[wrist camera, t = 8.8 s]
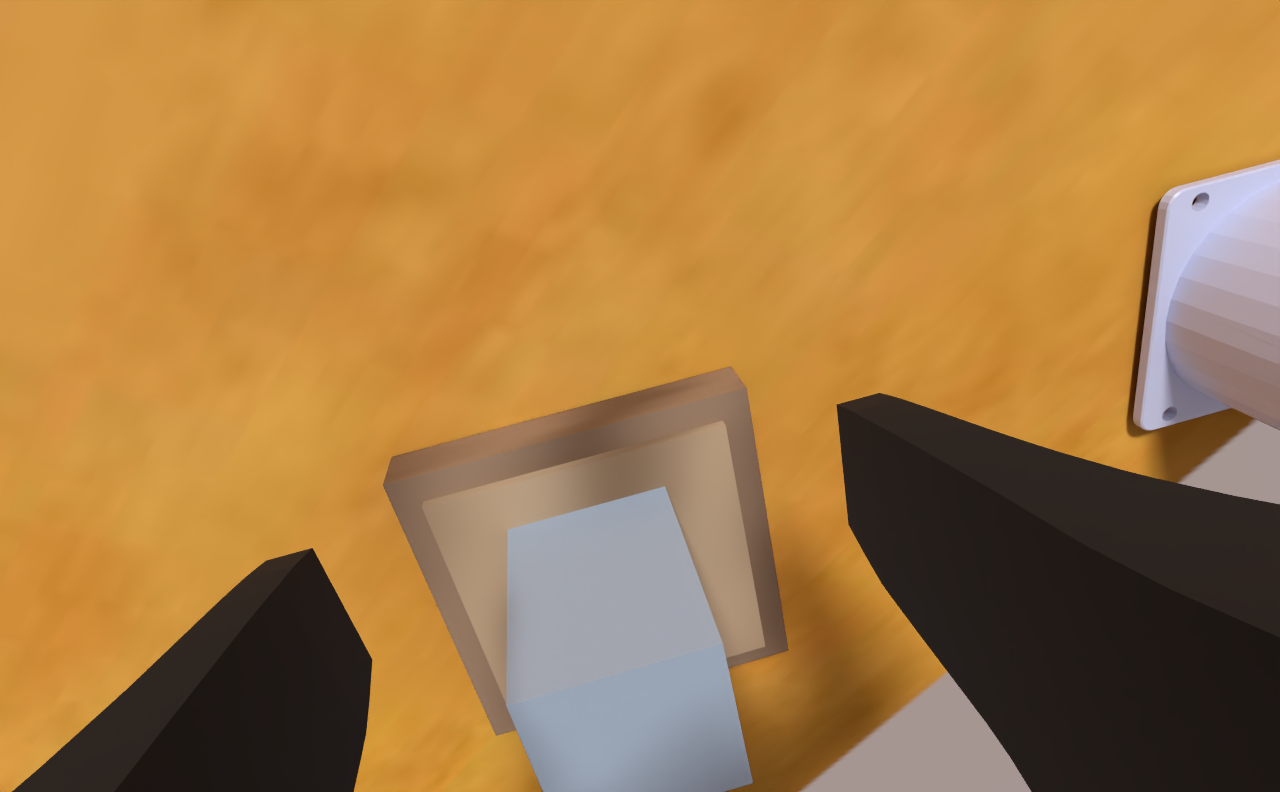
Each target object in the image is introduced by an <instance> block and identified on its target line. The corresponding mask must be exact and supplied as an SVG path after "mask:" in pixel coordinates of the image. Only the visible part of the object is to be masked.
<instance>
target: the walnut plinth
mask: <svg viewBox="0 0 1280 792" xmlns="http://www.w3.org/2000/svg"><path fill="white" fill-rule="evenodd" d="M383 486H384V489H385V491H386V493H387V495H388V498H389V500H390V502H391V504H392V506H393V509H394V511H395V513H396V515H397V517H398V520H399V522H400V524H401V526H402V528H403V531H404V533H405V535H406V537H407V540H408V542H409V544H410V546H411V548H412V551H413V553H414V555H415V557H416V559H417V562H418V564H419V566H420V568H421V571H422V573H423V575H424V577H425V579H426V582H427V584H428V586H429V588H430V590H431V593H432V595H433V597H434V599H435V602H436V604H437V606H438V608H439V610H440V613H441V615H442V617H443V619H444V621H445V624H446V626H447V628H448V630H449V633H450V635H451V637H452V639H453V641H454V644H455V646H456V648H457V650H458V652H459V655H460V657H461V659H462V661H463V664H464V666H465V668H466V670H467V672H468V675H469V677H470V679H471V681H472V683H473V686H474V688H475V690H476V692H477V695H478V697H479V699H480V701H481V703H482V706H483V708H484V710H485V712H486V714H487V717H488V719H489V721H490V723H491V726H492V728H493V730H494V732H495V734H496V736H497V735H500V734H504V733H507V732H511V731H514V730H516V728H515V725H514V723H513V721H512V718H511V716H510V714H509V711H508V709H507V707H506V672H507V543H508V529H512V528H515V527H519V526H523V525H526V524H530V523H534V522H537V521H541V520H544V519H548V518H552V517H555V516H559V515H563V514H566V513H570V512H574V511H577V510H581V509H584V508H588V507H592V506H595V505H599V504H603V503H606V502H610V501H614V500H617V499H621V498H624V497H628V496H632V495H635V494H639V493H643V492H646V491H650V490H654V489H657V488H661V487H664V486H665V487H666V490H667V493H668V496H669V498H670V501H671V504H672V507H673V509H674V512H675V515H676V517H677V520H678V523H679V526H680V528H681V531H682V534H683V536H684V539H685V542H686V545H687V547H688V550H689V553H690V555H691V558H692V561H693V564H694V566H695V569H696V572H697V574H698V577H699V580H700V583H701V585H702V588H703V591H704V594H705V596H706V599H707V602H708V604H709V607H710V610H711V613H712V615H713V618H714V621H715V623H716V626H717V629H718V632H719V634H720V637H721V640H722V642H723V646H724V651H725V656H726V660H727V665H728V668H730V667H733V666H737V665H740V664H744V663H747V662H751V661H754V660H757V659H761V658H764V657H768V656H771V655H775V654H778V653H781V652H785V651H788V644H787V638H786V632H785V626H784V619H783V613H782V607H781V601H780V594H779V588H778V582H777V576H776V569H775V563H774V557H773V550H772V544H771V538H770V532H769V525H768V519H767V513H766V507H765V500H764V494H763V488H762V482H761V475H760V469H759V463H758V457H757V450H756V444H755V438H754V431H753V425H752V419H751V413H750V406H749V400H748V394H747V388H746V386H745V385H744V384H743V382H742V381H741V380H740V378H739V377H738V375H737V374H736V373H735V371H734V370H733V369H732V367H728V368H724V369H721V370H717V371H713V372H709V373H706V374H702V375H698V376H694V377H691V378H687V379H683V380H679V381H676V382H672V383H668V384H664V385H661V386H657V387H653V388H649V389H646V390H642V391H638V392H634V393H631V394H627V395H623V396H619V397H616V398H612V399H608V400H604V401H601V402H597V403H593V404H589V405H586V406H582V407H578V408H574V409H571V410H567V411H563V412H559V413H556V414H552V415H548V416H544V417H541V418H537V419H533V420H529V421H526V422H522V423H518V424H514V425H511V426H507V427H503V428H499V429H496V430H492V431H488V432H484V433H481V434H477V435H473V436H469V437H466V438H462V439H458V440H454V441H451V442H447V443H443V444H439V445H436V446H432V447H428V448H424V449H421V450H417V451H413V452H409V453H406V454H402V455H398V456H394V457H392V458H391V461H390V464H389V467H388V471H387V474H386V477H385V481H384V484H383Z"/></svg>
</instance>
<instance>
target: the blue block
mask: <svg viewBox="0 0 1280 792" xmlns="http://www.w3.org/2000/svg"><path fill="white" fill-rule="evenodd" d="M506 707H507V709H508V711H509V714H510V716H511V718H512V721H513V723H514V725H515V728H516V730H517V732H518V735H519V737H520V739H521V742H522V744H523V746H524V749H525V751H526V753H527V756H528V758H529V760H530V763H531V765H532V767H533V770H534V772H535V774H536V777H537V779H538V781H539V784H540V786H541V788H542V791H543V792H725V791H729V790H732V789H735V788H739V787H742V786H745V785H749V784H752V783H753V781H752V776H751V771H750V767H749V762H748V757H747V753H746V748H745V744H744V739H743V734H742V730H741V725H740V720H739V716H738V711H737V707H736V702H735V697H734V693H733V688H732V683H731V679H730V674H729V670H728V665H727V660H726V656H725V651H724V646H723V642H722V640H721V637H720V634H719V632H718V629H717V626H716V623H715V621H714V618H713V615H712V613H711V610H710V607H709V604H708V602H707V599H706V596H705V594H704V591H703V588H702V585H701V583H700V580H699V577H698V574H697V572H696V569H695V566H694V564H693V561H692V558H691V555H690V553H689V550H688V547H687V545H686V542H685V539H684V536H683V534H682V531H681V528H680V526H679V523H678V520H677V517H676V515H675V512H674V509H673V507H672V504H671V501H670V498H669V496H668V493H667V490H666V487H665V486H664V487H661V488H657V489H654V490H650V491H646V492H643V493H639V494H635V495H632V496H628V497H624V498H621V499H617V500H614V501H610V502H606V503H603V504H599V505H595V506H592V507H588V508H584V509H581V510H577V511H574V512H570V513H566V514H563V515H559V516H555V517H552V518H548V519H544V520H541V521H537V522H534V523H530V524H526V525H523V526H519V527H515V528H512V529H508V543H507V672H506Z"/></svg>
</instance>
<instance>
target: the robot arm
mask: <svg viewBox="0 0 1280 792" xmlns="http://www.w3.org/2000/svg"><path fill="white" fill-rule="evenodd" d="M1196 196H1197V199H1196V202H1195V203H1194V204H1193V206H1192V203H1193V200H1194V198H1195V197H1196ZM1230 408H1233V409H1236V410H1238V411H1240V412H1242V413H1244V414H1246V415H1248V416H1250V417H1253V418H1255V419H1257V420H1259V421H1261V422H1263V423H1265V424H1267V425H1270V426H1272V427H1274V428H1276V429H1278V430H1280V160H1276V161H1273V162H1269V163H1265V164H1261V165H1257V166H1254V167H1250V168H1246V169H1242V170H1238V171H1234V172H1231V173H1227V174H1223V175H1219V176H1215V177H1211V178H1208V179H1204V180H1200V181H1196V182H1192V183H1188V184H1185V185H1181V186H1177V187H1175V188H1172V189H1170V190H1169V191H1168V192H1167V193H1166V194H1165V195H1164V196H1163V198H1162V199H1161V201H1160V203H1159V207H1158V213H1157V222H1156V230H1155V238H1154V247H1153V255H1152V263H1151V272H1150V280H1149V288H1148V297H1147V305H1146V313H1145V322H1144V330H1143V338H1142V347H1141V355H1140V363H1139V372H1138V380H1137V388H1136V397H1135V405H1134V413H1133V422H1134V423H1135V424H1136V425H1137V426H1138V427H1140V428H1142V429H1144V430H1147V431H1150V430H1155V429H1159V428H1162V427H1166V426H1169V425H1173V424H1176V423H1180V422H1183V421H1187V420H1191V419H1194V418H1198V417H1201V416H1205V415H1208V414H1212V413H1215V412H1219V411H1222V410H1226V409H1230ZM1164 411H1165V412H1164ZM1163 412H1164V413H1163ZM837 413H838V423H839V433H840V443H841V453H842V463H843V473H844V483H845V493H846V503H847V513H848V523H849V526H850V528H851V530H852V532H853V533H854V535H855V537H856V539H857V541H858V542H859V544H860V546H861V548H862V550H863V552H864V553H865V555H866V557H867V559H868V561H869V562H870V564H871V566H872V567H873V569H874V571H875V573H876V574H877V576H878V578H879V579H880V581H881V583H882V585H883V586H884V587H885V589H886V590H887V591H888V593H889V594H890V595H891V597H892V598H893V600H894V601H895V602H896V604H897V605H898V606H899V608H900V609H901V610H902V612H903V613H904V614H905V616H906V617H907V618H908V620H909V621H910V622H911V624H912V625H913V626H914V628H915V629H916V630H917V632H918V633H919V634H920V636H921V637H922V638H923V640H924V641H925V642H926V644H927V645H928V646H929V648H930V649H931V650H932V652H933V653H934V654H935V656H936V657H937V658H938V659H939V661H940V662H941V663H942V665H943V666H944V667H945V669H946V670H947V671H948V673H949V674H950V675H951V677H952V678H953V679H954V680H955V682H956V683H957V685H958V686H959V687H960V688H961V690H962V691H963V692H964V694H965V695H966V696H967V698H968V699H969V700H970V702H971V703H972V704H973V706H974V707H975V708H976V710H977V711H978V712H979V714H980V715H981V716H982V718H983V719H984V720H985V721H986V723H987V724H988V726H989V727H990V729H991V730H992V732H993V733H994V734H995V736H996V737H997V739H998V740H999V742H1000V743H1001V744H1002V746H1003V747H1004V749H1005V750H1006V752H1007V753H1008V754H1009V756H1010V758H1011V759H1012V761H1013V762H1014V764H1015V766H1016V767H1017V769H1018V770H1019V772H1020V774H1021V775H1022V777H1023V778H1024V780H1025V782H1026V783H1027V785H1028V787H1029V788H1030V790H1031V791H1032V792H1280V504H1274V503H1269V502H1263V501H1258V500H1253V499H1248V498H1242V497H1237V496H1232V495H1228V494H1223V493H1219V492H1214V491H1210V490H1205V489H1201V488H1196V487H1191V486H1187V485H1182V484H1178V483H1173V482H1169V481H1164V480H1160V479H1156V478H1152V477H1148V476H1144V475H1140V474H1136V473H1132V472H1128V471H1124V470H1120V469H1117V468H1113V467H1110V466H1106V465H1103V464H1099V463H1096V462H1092V461H1089V460H1085V459H1082V458H1078V457H1075V456H1071V455H1068V454H1064V453H1061V452H1058V451H1054V450H1051V449H1048V448H1045V447H1042V446H1038V445H1035V444H1032V443H1029V442H1026V441H1023V440H1020V439H1017V438H1014V437H1011V436H1008V435H1005V434H1002V433H999V432H996V431H993V430H990V429H987V428H984V427H981V426H978V425H975V424H972V423H970V422H967V421H964V420H961V419H958V418H955V417H952V416H950V415H947V414H944V413H941V412H938V411H935V410H933V409H930V408H927V407H924V406H921V405H918V404H915V403H912V402H909V401H906V400H903V399H900V398H896V397H893V396H889V395H885V394H881V393H878V394H874V395H870V396H867V397H863V398H859V399H856V400H852V401H848V402H845V403H841V404H837ZM371 669H372V658H371V656H370V655H369V653H368V651H367V649H366V647H365V645H364V643H363V641H362V640H361V638H360V636H359V634H358V632H357V630H356V628H355V627H354V625H353V623H352V621H351V619H350V617H349V615H348V613H347V612H346V610H345V608H344V606H343V604H342V602H341V600H340V599H339V597H338V595H337V593H336V591H335V589H334V587H333V586H332V584H331V582H330V580H329V578H328V576H327V574H326V572H325V571H324V569H323V567H322V565H321V563H320V561H319V559H318V558H317V556H316V554H315V552H314V550H313V548H311V549H307V550H304V551H300V552H296V553H293V554H289V555H285V556H282V557H278V558H274V559H271V560H267V561H265V562H264V563H263V564H261V565H260V566H259V567H258V568H256V569H255V570H254V571H253V572H251V573H250V574H249V575H248V576H247V577H245V578H244V579H243V580H242V581H241V582H240V583H239V584H238V585H236V586H235V587H234V588H233V589H232V590H231V591H230V592H229V593H228V594H227V595H226V596H224V597H223V598H222V599H221V600H220V601H219V602H218V603H217V604H216V605H215V606H214V607H213V608H212V609H211V610H210V611H208V612H207V613H206V614H205V615H204V616H203V617H202V618H201V619H200V620H199V621H198V622H197V623H196V624H195V625H194V626H193V627H192V628H191V629H190V630H189V631H188V632H187V633H185V634H184V635H183V636H182V637H181V638H180V639H179V640H178V641H177V642H176V643H175V644H174V645H173V646H172V647H171V648H170V649H169V650H168V651H167V652H166V653H164V654H163V655H162V656H161V657H160V658H159V659H158V660H157V661H156V662H155V663H154V664H153V665H152V666H151V667H150V668H149V669H148V670H147V671H146V672H145V673H144V674H142V675H141V676H140V677H139V678H138V679H137V680H136V681H135V682H134V683H133V684H132V685H131V686H130V687H129V688H128V689H127V690H126V691H124V692H123V693H122V694H121V695H120V696H119V697H118V698H117V699H116V700H115V701H113V702H112V703H111V704H110V705H109V706H108V707H107V708H106V709H105V710H103V711H102V712H101V713H100V714H99V715H98V716H97V717H96V718H95V719H93V720H92V721H91V722H90V723H89V724H88V725H87V726H86V727H85V728H84V729H82V730H81V731H80V732H79V733H78V734H77V735H76V736H75V737H74V738H72V739H71V740H70V741H69V742H68V743H67V744H66V745H65V746H64V747H62V748H61V749H60V750H59V751H58V752H57V753H56V754H55V755H54V756H53V757H51V758H50V759H49V760H48V761H47V762H46V763H45V764H44V765H43V766H41V767H40V768H39V769H38V770H37V771H36V772H35V773H33V774H32V775H31V776H30V777H29V778H28V779H26V780H25V781H24V782H23V783H22V784H21V785H19V786H18V787H17V788H16V789H15V790H14V791H12V792H354V787H355V783H356V778H357V774H358V769H359V765H360V760H361V755H362V751H363V746H364V741H365V736H366V729H367V719H368V709H369V699H370V684H371Z"/></svg>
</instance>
